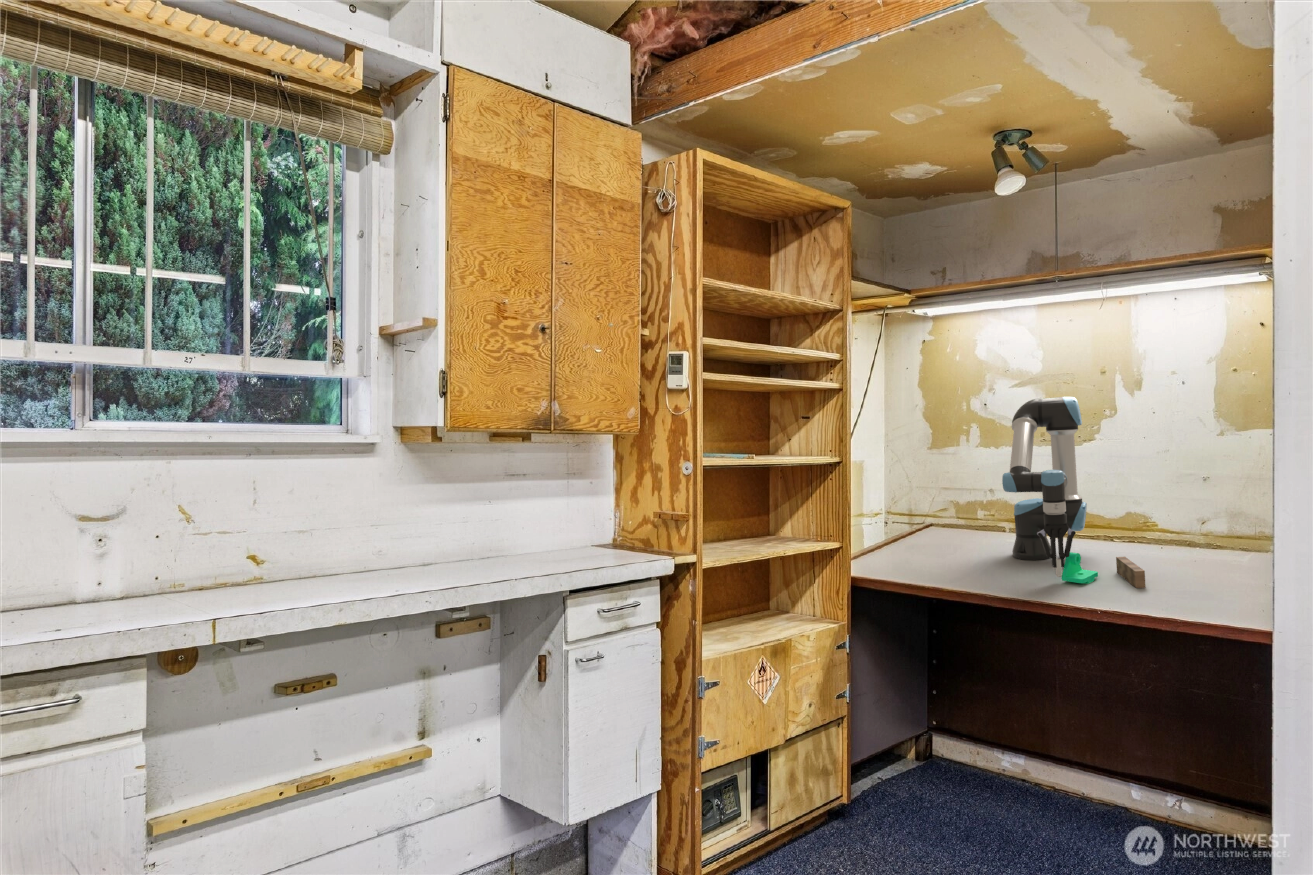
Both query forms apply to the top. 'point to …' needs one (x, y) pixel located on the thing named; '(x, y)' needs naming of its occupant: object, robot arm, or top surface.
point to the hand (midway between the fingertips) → (1058, 575)
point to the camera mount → (1077, 570)
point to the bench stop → (1131, 572)
